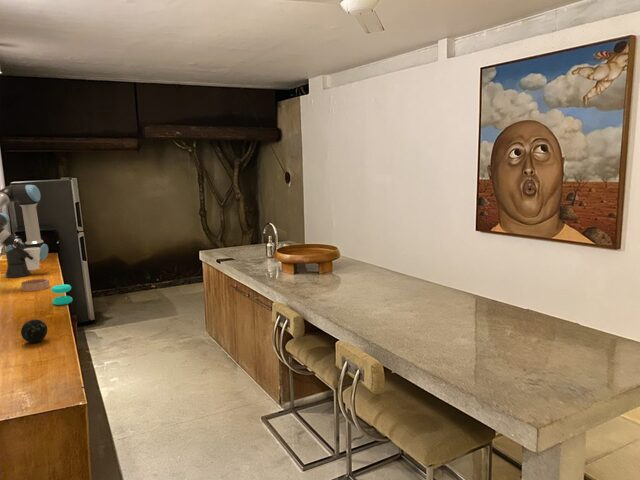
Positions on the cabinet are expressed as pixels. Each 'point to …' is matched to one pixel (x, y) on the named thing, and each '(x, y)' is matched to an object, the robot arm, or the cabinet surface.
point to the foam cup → (35, 253)
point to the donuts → (62, 299)
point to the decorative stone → (34, 331)
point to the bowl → (35, 284)
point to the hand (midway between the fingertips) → (38, 260)
